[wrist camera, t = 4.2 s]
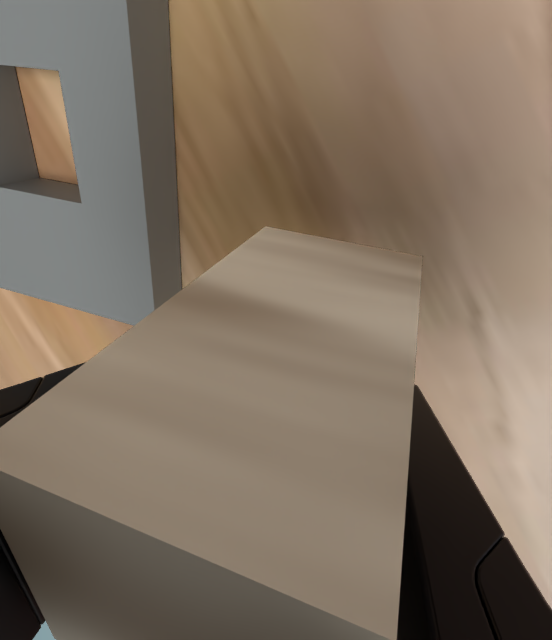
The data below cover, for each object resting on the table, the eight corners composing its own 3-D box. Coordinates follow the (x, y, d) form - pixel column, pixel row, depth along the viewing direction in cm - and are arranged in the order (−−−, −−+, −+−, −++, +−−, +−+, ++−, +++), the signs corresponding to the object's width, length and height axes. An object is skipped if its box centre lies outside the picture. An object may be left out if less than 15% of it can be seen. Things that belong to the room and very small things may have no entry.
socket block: (182, 309, 26) (156, 331, 23) (18, 266, 29) (-20, 282, 27) (161, -124, 16) (110, -166, 13) (-88, -112, 19) (-165, -144, 17)
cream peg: (385, 385, 11) (317, 780, 5) (256, 350, 12) (54, 638, 6) (422, 256, 9) (396, 643, 3) (265, 226, 10) (-37, 455, 4)
